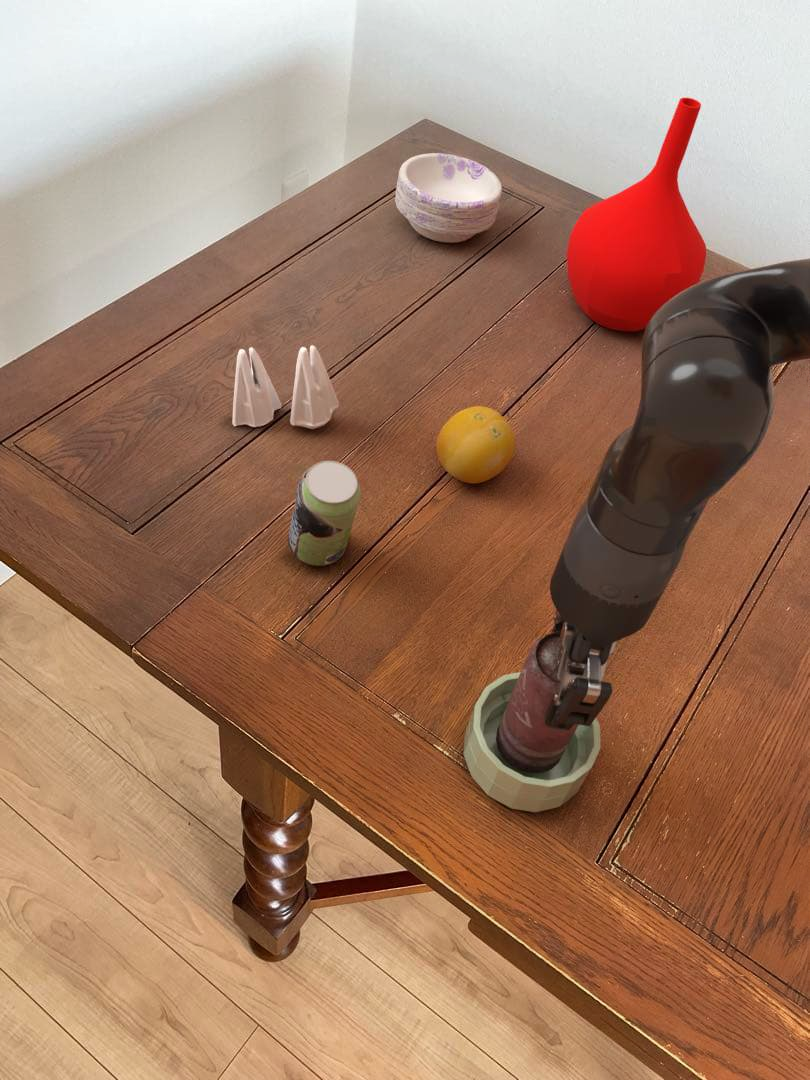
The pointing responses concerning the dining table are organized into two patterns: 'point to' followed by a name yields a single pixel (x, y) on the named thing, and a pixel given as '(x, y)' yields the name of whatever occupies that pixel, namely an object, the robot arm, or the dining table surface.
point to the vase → (639, 241)
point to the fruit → (475, 444)
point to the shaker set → (261, 400)
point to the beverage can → (323, 513)
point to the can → (534, 712)
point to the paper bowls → (447, 196)
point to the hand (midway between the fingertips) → (557, 687)
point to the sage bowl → (511, 782)
